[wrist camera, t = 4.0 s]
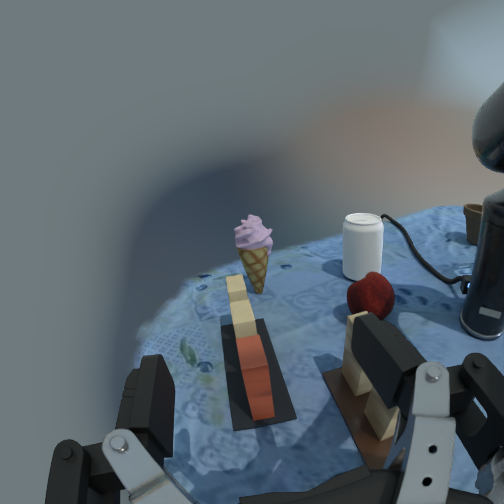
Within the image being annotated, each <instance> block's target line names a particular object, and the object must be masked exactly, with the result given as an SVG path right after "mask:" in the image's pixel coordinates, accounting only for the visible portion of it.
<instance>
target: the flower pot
mask: <svg viewBox="0 0 504 504" xmlns="http://www.w3.org/2000/svg"><path fill="white" fill-rule="evenodd" d="M482 206H483V205H478V204H465V205H464V210H463V213H464V215H465V217H466V231H467V240H468V241H469V242H470V243H472V244H474V245H478V239H479V232H480V224H481V216H482Z"/></svg>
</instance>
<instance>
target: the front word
mask: <svg viewBox="0 0 504 504" xmlns="http://www.w3.org/2000/svg"><path fill="white" fill-rule="evenodd" d="M367 313H368V312H367V311H364V312H361V313H357V314H354V315H350V316H348V317H347V328H346V338H345V347H344V355H343V363H342V367H341V368H338V369H334V370H331V371H328V372H324V373H322V375H323V377H324V379H325V381H326V383H327V386H328V388H329V390H330V392H331V394H332V396H333V398H334V400H335V402H336V404H337V406H338V408H339V410H340V412H341V414H342V416H343V418H344V420H345V422H346V424H347V427H348V429H349V431H350V433H351V435H352V437H353V439H354V441H355V443H356V445H357V447H358V449H359V451H360V453H361V456H362V458H363V460H364V462H365V464H366V465H367V467H368V469H369V470H370V469H383V467H384V464H385V461H386V459H387V457H388V454H389V452H390V449H391V445H392V441H393V436H394V432H395V427H396V422H397V417H398V412H399V410H400V409H399V408H398V406H395V407H393V408H391V409H387V407H386V405H385V404H384V402H383V401H382V399H381V398H380V396H379V394H378V393H377V391H376V390H375V388H374V387H373V385H372V384H371V382H370V380H369V379H368V377H367V376H366V374H365V373H364V371H363V370H362V368H361V367H360V365H359V364H358V362H357V361H356V359H355V358H354V356H353V353H352V350H351V340H352V331H353V322H354V318H355V317H357V316H360V315H364V314H367Z"/></svg>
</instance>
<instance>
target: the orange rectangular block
mask: <svg viewBox="0 0 504 504" xmlns="http://www.w3.org/2000/svg"><path fill="white" fill-rule="evenodd" d="M236 344H237V349H238V355H239V361H240V366H241V371H242V376H243V380H244V384H245V389H246V393H247V397H248V401H249V405H250V409H251V413H252V417H253V421H256V420H261V419H266V418H271V417H275V415H274V407H273V399H272V391H271V384H270V376H269V368H268V363H267V359H266V356H265V353H264V349H263V346H262V342H261V339H260V335H254V336H248V337H243V338H237V339H236Z"/></svg>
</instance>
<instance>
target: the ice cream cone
mask: <svg viewBox="0 0 504 504" xmlns="http://www.w3.org/2000/svg"><path fill="white" fill-rule="evenodd" d="M241 222H242V226H239V227H237V228H235V229H234V231H235V233H236V236H235V239H236V247H237V249H238V253H239V255H240V258H241V261H242V263H243V266H244V268H245V271H246V273H247V275H248V277H249V280H250V282H251V284H252V286H253V288H254V290H255V292H256V293H257V294H260V293H262V292H263V287H264V282H265V277H266V271H267V264H268V257H269V255H270V254H271V247H272V245H273V241H272V239H271V238H270V234H271V231H272V230H271V229H268V230H267V229H266V228H265V227H264V226H263V225H262V224H261V223H262V221H261V219H260V218H259V217H258V216H253V215H248V220H241Z"/></svg>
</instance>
